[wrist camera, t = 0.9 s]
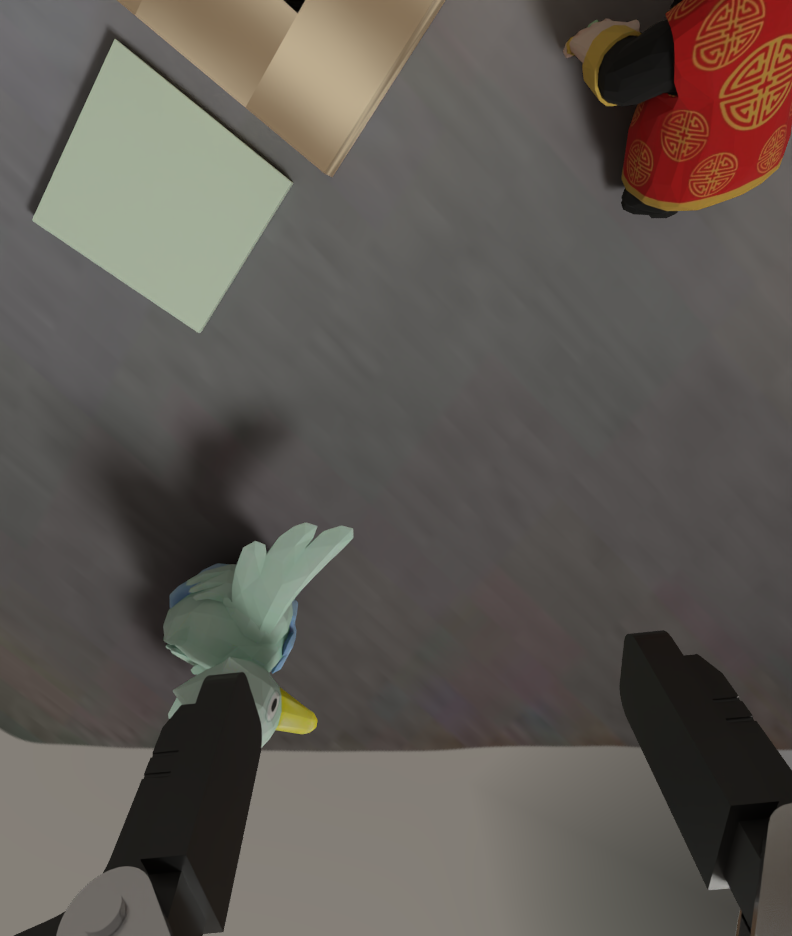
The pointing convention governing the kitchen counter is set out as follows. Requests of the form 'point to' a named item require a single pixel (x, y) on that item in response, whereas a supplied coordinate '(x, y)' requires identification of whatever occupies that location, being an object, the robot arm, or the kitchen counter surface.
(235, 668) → the toy
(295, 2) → the copper capped cylinder
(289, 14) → the bore block
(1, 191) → the kitchen counter surface
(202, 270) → the pad
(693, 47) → the figurine
